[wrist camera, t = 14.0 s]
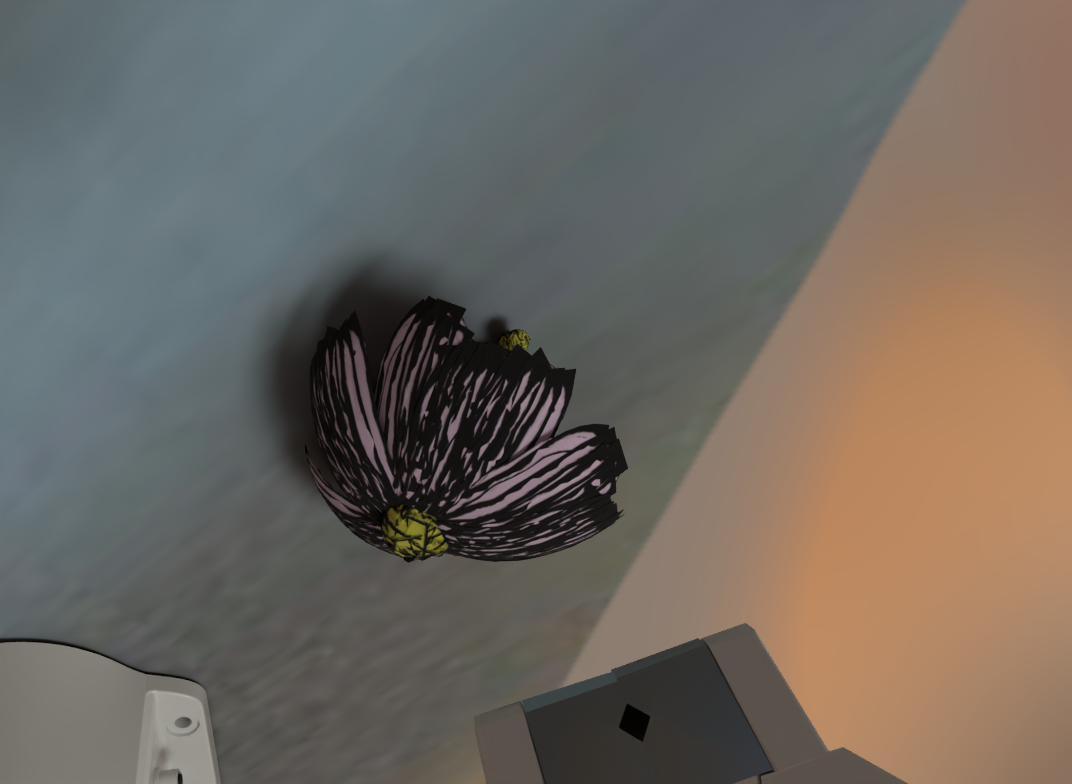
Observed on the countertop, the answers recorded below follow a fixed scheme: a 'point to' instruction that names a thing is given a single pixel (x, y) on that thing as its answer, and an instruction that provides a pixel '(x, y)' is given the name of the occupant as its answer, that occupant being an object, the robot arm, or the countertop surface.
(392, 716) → the countertop surface
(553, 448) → the decorative flower
